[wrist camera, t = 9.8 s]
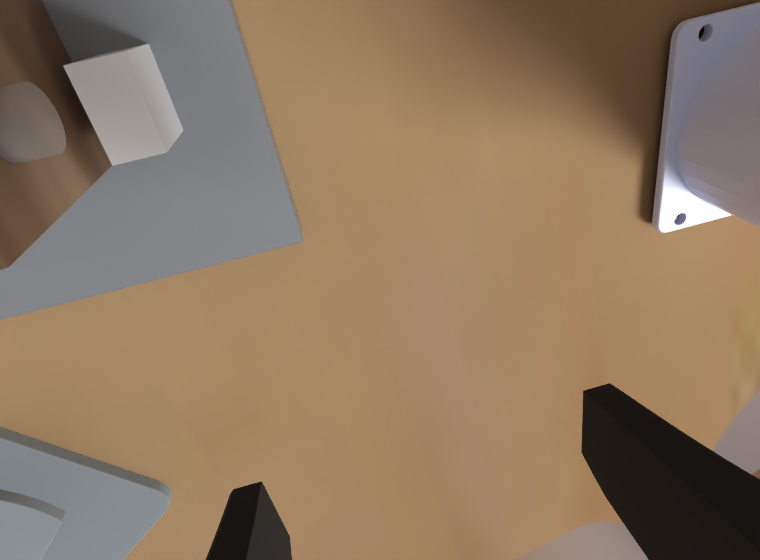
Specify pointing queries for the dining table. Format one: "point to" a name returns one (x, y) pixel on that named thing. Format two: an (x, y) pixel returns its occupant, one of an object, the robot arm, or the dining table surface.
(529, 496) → the dining table surface
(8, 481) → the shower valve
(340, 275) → the dining table surface
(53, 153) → the cabinet door
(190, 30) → the hinge board
